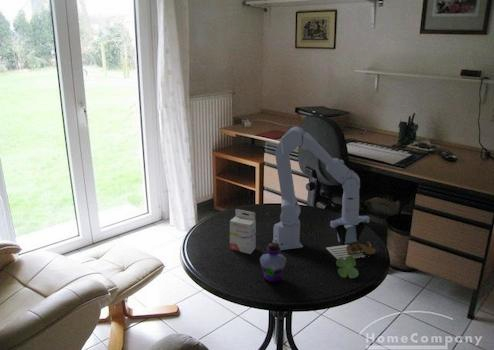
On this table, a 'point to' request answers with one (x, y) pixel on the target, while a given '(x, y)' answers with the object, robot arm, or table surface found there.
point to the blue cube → (349, 234)
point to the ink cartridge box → (243, 231)
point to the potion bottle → (273, 263)
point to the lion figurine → (360, 248)
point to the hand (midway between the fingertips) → (349, 242)
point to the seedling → (347, 267)
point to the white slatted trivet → (343, 252)
